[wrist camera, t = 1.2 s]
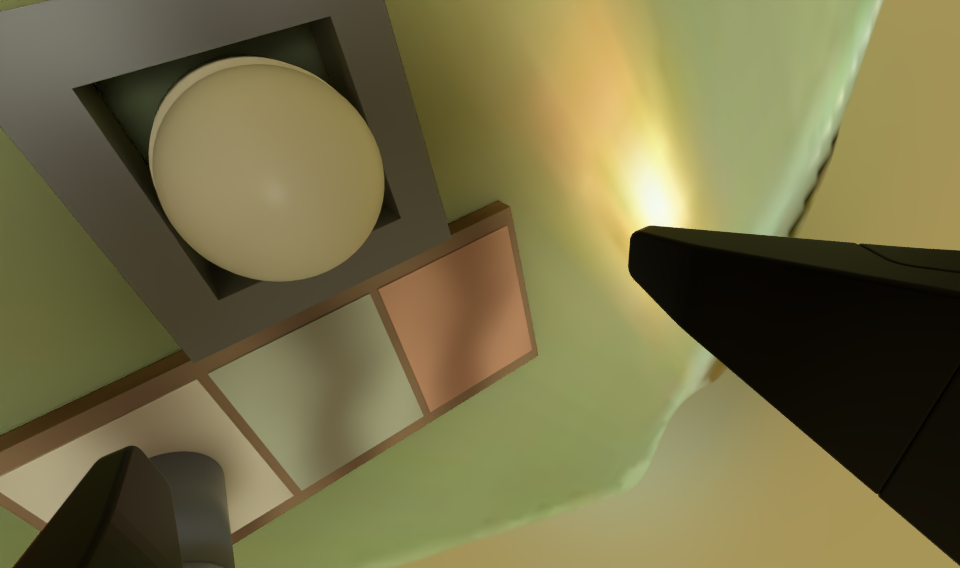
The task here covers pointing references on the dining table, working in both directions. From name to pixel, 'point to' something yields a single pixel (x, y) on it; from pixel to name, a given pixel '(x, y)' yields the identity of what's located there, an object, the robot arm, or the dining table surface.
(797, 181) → the dining table surface
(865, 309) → the robot arm
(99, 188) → the base
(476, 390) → the game board
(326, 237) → the cream cylinder
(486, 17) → the dining table surface
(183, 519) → the pawn
